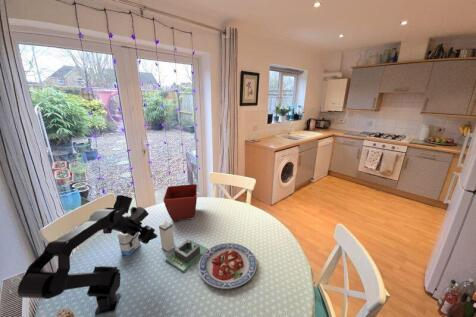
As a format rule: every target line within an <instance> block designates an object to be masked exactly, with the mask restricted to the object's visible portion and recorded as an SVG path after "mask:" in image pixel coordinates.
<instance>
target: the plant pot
mask: <svg viewBox="0 0 476 317" xmlns="http://www.w3.org/2000/svg"><path fill="white" fill-rule="evenodd" d="M197 197H198V184H197V183H196V184H193V183H192V184H191V183H190V184H180V185H169V186H167V188H166V191H165V194H164V196H163V199H162V200H163V203H164V206H165V208H166V211H167V213H168V215H169V217H170V219H171V220H172V222H175V221H177V222H178V221H184V220H185V221H187V220H193V219H194V217H195V215H196V214H195V213H196V209H197V201H198V200H197V199H198V198H197Z"/></svg>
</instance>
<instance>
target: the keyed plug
mask: <svg viewBox="0 0 476 317" xmlns="http://www.w3.org/2000/svg"><path fill="white" fill-rule="evenodd" d="M158 229H159V234H160V235H159V236H160V244H161V248H162V249H163V250H165V251H166V252H168V251H170V250H171V249H173V248H174V247H175V246H176V245H175V239H174V238H175V237H174V228H173V223H172V222H171V221H169V222H168V221H165V222H163V223H161V224H159V225H158Z"/></svg>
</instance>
